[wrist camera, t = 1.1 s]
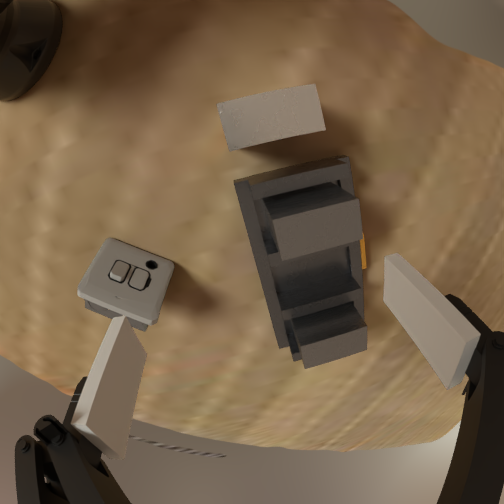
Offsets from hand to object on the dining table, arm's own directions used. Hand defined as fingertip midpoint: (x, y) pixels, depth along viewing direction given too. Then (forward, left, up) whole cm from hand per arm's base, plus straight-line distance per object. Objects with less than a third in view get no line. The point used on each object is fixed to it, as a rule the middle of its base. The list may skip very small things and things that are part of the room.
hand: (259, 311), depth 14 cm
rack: (+10, +6, -21) cm, 24 cm away
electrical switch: (+5, -15, -21) cm, 26 cm away
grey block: (-8, +4, -21) cm, 23 cm away
